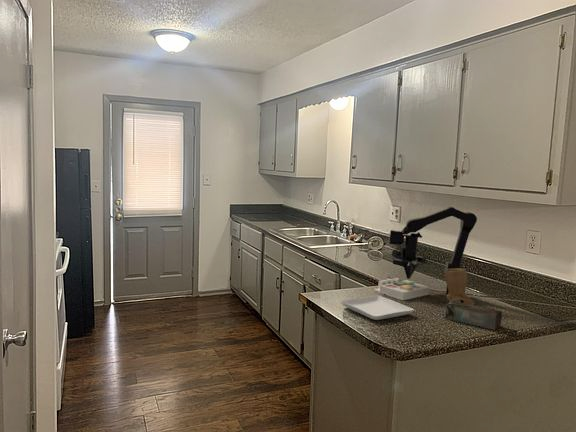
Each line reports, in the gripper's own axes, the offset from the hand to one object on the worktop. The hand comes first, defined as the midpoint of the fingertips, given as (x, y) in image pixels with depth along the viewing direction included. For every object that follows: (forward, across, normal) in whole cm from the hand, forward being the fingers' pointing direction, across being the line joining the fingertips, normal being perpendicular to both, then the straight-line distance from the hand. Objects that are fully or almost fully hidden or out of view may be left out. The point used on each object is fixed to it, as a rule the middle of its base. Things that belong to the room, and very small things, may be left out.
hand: (408, 278), depth 218 cm
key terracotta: (+5, +12, 0) cm, 13 cm away
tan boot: (+6, -4, +23) cm, 25 cm away
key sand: (+3, +9, +6) cm, 11 cm away
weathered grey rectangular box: (+6, +16, +42) cm, 46 cm away
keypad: (+6, +6, +1) cm, 8 cm away
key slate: (+5, +3, +6) cm, 8 cm away
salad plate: (+6, +40, +14) cm, 43 cm away
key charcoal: (+3, +6, 0) cm, 7 cm away
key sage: (+3, 0, 0) cm, 3 cm away
